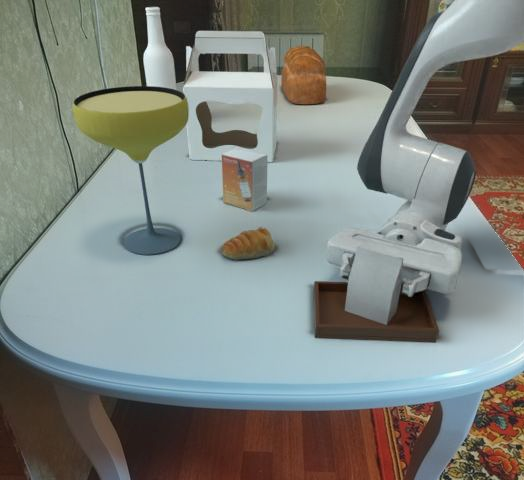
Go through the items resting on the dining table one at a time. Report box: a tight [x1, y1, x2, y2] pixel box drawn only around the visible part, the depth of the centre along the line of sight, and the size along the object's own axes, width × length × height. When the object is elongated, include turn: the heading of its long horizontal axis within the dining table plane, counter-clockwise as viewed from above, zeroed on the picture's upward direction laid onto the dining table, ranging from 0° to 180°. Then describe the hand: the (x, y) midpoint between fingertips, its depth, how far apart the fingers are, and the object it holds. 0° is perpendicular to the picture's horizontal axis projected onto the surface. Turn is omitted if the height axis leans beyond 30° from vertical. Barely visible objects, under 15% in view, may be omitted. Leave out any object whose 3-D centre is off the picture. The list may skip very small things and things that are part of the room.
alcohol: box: [142, 6, 178, 90], centre depth 150 cm, size 9×9×30 cm
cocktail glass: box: [72, 85, 189, 256], centre depth 88 cm, size 18×18×25 cm
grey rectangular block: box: [345, 246, 404, 325], centre depth 74 cm, size 4×7×10 cm, turn 57°
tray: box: [313, 280, 440, 343], centre depth 76 cm, size 17×12×2 cm
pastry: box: [221, 226, 276, 261], centre depth 92 cm, size 9×7×4 cm
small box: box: [221, 148, 268, 212], centre depth 107 cm, size 8×6×10 cm
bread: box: [280, 45, 327, 105], centre depth 180 cm, size 14×26×16 cm, turn 5°
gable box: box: [182, 30, 278, 163], centre depth 127 cm, size 22×13×28 cm, turn 85°
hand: (374, 282), depth 73 cm, fingers open, 8 cm apart
